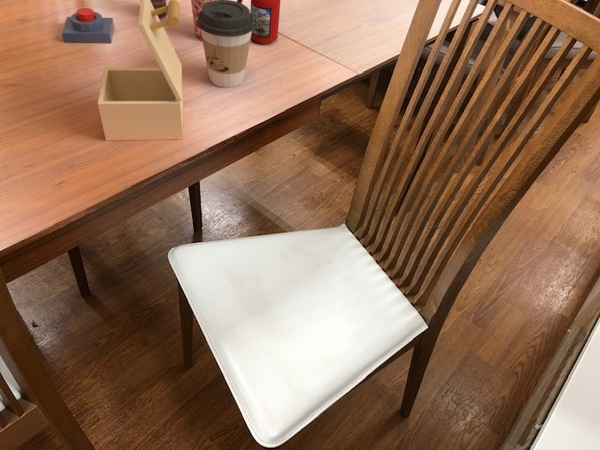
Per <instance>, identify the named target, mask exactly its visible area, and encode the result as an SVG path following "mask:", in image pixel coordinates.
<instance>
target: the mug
mask: <svg viewBox="0 0 600 450" xmlns="http://www.w3.org/2000/svg"><path fill="white" fill-rule="evenodd" d="M212 1H216V0H190V3H191V12H192V20H193V29H194V35H195V37H196V38H197V39H198V40H200V41H202V42H203V40H202V34H201V29H200V28H199V26H198V25H197V19H198V14H199V13H200V12H201V11H202V7H203V6H204V5H205V4H207V3H209V2H212ZM236 2H239V3H242V4H243V2H244V1H243V0H236Z"/></svg>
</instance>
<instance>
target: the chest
mask: <svg viewBox="0 0 600 450" xmlns="http://www.w3.org/2000/svg"><path fill="white" fill-rule="evenodd" d="M102 73H103V74H102V79H101V84H100V89H99V95H98V100H97V108H98V112H99V116H100V121H101V125H102V129H103V135H104V139H105V141H106V142H110V141H111V142H112V141H114V142H115V141H116V142H117V141H119V142H120V141H165V140H166V141H167V140H184V100H183V96H182V100H181V101H177V99H176V97H175V95H174V93H173V91H172V89H171V88H170V86H169V84H168V82H167V80H166V78H165V76H164V74H163V72H162V70H161V69H160V67H157V68H155V67H149V68H148V67H104V69H103V72H102Z"/></svg>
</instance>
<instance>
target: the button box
mask: <svg viewBox="0 0 600 450" xmlns="http://www.w3.org/2000/svg"><path fill="white" fill-rule="evenodd" d="M94 16H95V19H94V20H93V21H89V22H82V21H79V20H78V17H77V13H76V12H74V13H73V14H71V16H66V19H65V21H64V25H63V28H62V30H61V36H62V40H63V43H69V44H70V43H72V44H73V43H75V44H76V43H78V44H85V43H86V44H111V43H112V40H113V35H114V29H115V24H114V17H103V16H102V15H101V13H99V12H97V11H94Z"/></svg>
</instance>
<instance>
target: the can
mask: <svg viewBox="0 0 600 450" xmlns="http://www.w3.org/2000/svg"><path fill="white" fill-rule="evenodd" d="M150 1H151V3H152V5H153V7H154V9H158V8H161V7H164V6H167V0H150ZM139 2H141V0H140V1H139ZM167 15H168V11H167V12H164V13H161V14H159V15H158V18H159V20H160V19H162V18H165V17H166V16H167Z"/></svg>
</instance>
